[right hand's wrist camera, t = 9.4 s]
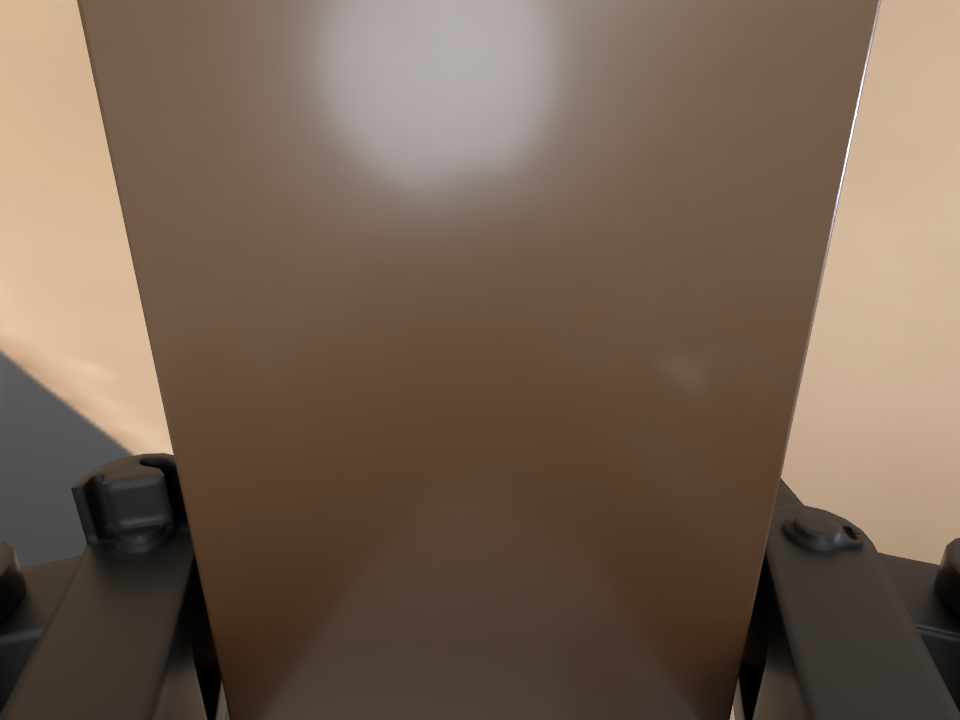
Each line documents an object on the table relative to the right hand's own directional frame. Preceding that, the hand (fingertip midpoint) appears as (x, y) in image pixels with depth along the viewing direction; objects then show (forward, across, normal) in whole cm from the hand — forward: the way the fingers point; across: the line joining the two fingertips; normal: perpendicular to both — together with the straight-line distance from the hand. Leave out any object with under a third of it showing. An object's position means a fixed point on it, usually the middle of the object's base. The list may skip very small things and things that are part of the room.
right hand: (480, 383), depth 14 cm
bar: (0, 0, -12) cm, 12 cm away
